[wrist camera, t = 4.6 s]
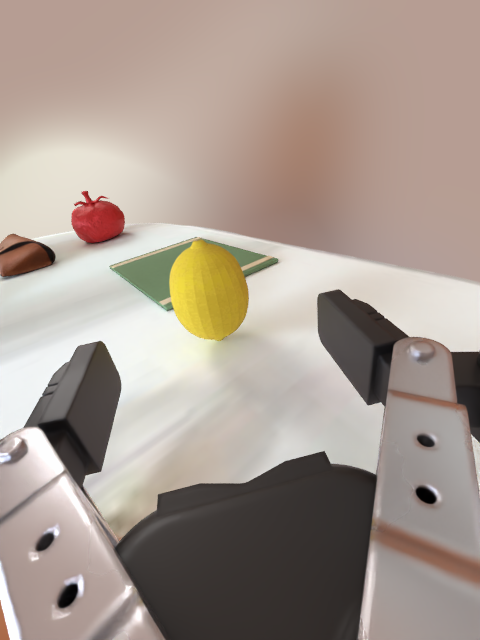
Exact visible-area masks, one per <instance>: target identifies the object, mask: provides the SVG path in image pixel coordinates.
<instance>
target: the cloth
mask: <svg viewBox="0 0 480 640" xmlns="http://www.w3.org/2000/svg"><path fill="white" fill-rule="evenodd" d="M200 239H201V240H204V241H205V242H206V243H209V244H214V245H218V246H220V247H222V248H224V249H225V250H227V251H228V252H230V253H231V254H232V255H233V256H234V257H235V258H236V260H237V261H238V263H239V265H240V267H241V269H242V272H243V274H244V277H245V276H247V275H249V274H252V273H254V272H256V271H258V270H261V269H263V268H265V267H267V266H270V265H272V264H274V263H276V262H278V259H277V258H274V257H271V256H266V255H262V254H258V253H254V252H251V251H247V250H243V249H239V248H236V247H232V246H228V245H225V244H221V243H217V242H213V241H210V240H206V239H202V238H200V237H195V238H192V239H189V240H186V241H183V242H180V243H177V244H174V245H171V246H168V247H165V248H162V249H159V250H156V251H153V252H150V253H147V254H144V255H141V256H138V257H135V258H132V259H129V260H126V261H123V262H120V263H117V264H114V265H111V266H109V267H110V269H112V270H113V271H114V272H116V273H117V274H118V275H120V276H121V277H122V278H124V279H125V280H126V281H128V282H129V283H130V284H132V285H133V286H134V287H136V288H137V289H138V290H140V291H141V292H143V293H144V294H145V295H147V296H148V297H149V298H151V299H152V300H153V301H155V302H156V303H157V304H159V305H160V306H161V307H163V308H164V309H165V310H167V311H168V310H170V309H172V308H173V306H172V302H171V296H170V284H169V281H170V272H171V269H172V266H173V264H174V262H175V260H176V259H177V258H178V256H179V255H180V254H181V253H182V252H183V251H184V250H186V249H187V248H189V247H191V245H192V243H193V241H195V240H200Z"/></svg>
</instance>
